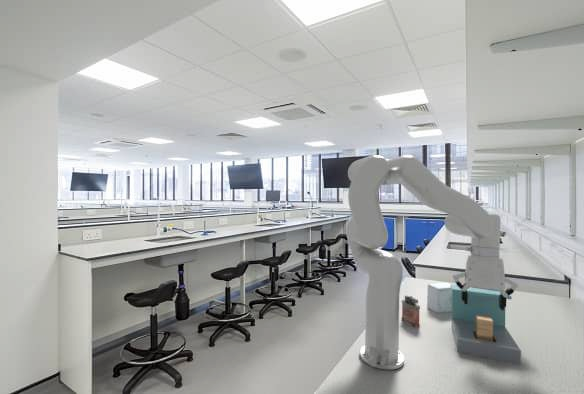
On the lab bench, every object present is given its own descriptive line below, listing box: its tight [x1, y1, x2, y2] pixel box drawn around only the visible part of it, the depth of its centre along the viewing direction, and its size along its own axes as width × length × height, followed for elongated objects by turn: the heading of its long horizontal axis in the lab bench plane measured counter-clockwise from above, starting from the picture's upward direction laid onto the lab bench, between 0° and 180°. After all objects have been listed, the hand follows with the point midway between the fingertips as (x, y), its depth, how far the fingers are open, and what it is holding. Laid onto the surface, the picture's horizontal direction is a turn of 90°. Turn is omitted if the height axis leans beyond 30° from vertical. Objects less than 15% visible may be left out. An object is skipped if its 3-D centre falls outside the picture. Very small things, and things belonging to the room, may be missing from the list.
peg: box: [476, 314, 493, 342], centre depth 91 cm, size 4×4×10 cm
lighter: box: [401, 294, 421, 328], centre depth 110 cm, size 8×3×10 cm, turn 21°
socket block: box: [451, 284, 522, 365], centre depth 95 cm, size 18×17×16 cm
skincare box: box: [426, 282, 452, 314], centre depth 124 cm, size 10×6×10 cm, turn 107°
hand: (482, 305), depth 91 cm, fingers open, 9 cm apart
